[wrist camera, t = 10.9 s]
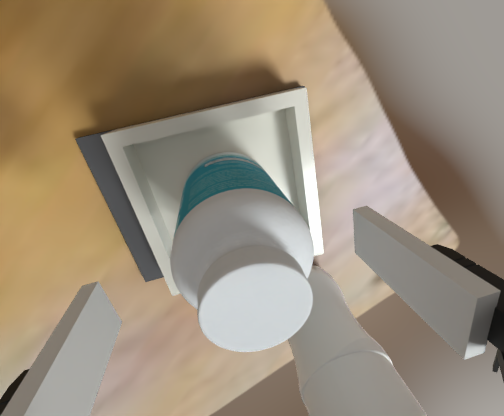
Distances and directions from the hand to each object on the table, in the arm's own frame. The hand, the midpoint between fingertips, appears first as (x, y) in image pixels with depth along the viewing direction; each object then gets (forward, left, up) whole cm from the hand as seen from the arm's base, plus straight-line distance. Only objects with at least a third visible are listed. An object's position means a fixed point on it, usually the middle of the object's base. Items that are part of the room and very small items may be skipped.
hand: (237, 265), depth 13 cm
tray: (0, 0, -11) cm, 11 cm away
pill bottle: (0, 0, -10) cm, 10 cm away
